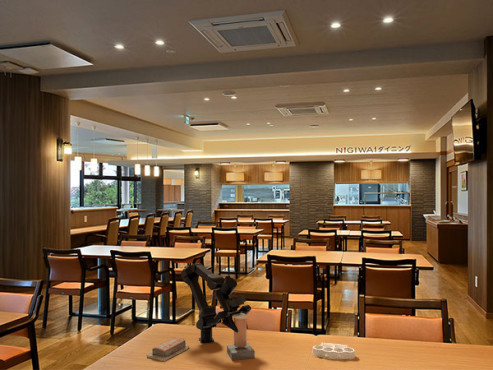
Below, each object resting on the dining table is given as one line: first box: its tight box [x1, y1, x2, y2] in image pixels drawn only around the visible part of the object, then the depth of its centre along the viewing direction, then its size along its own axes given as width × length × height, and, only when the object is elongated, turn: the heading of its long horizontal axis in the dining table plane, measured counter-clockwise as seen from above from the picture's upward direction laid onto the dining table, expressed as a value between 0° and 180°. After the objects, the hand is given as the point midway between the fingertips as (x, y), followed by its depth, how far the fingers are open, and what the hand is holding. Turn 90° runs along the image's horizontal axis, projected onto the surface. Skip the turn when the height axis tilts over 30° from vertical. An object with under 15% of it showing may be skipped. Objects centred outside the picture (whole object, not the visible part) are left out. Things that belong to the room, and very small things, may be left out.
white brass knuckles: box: [312, 342, 356, 360], centre depth 191 cm, size 3×18×15 cm
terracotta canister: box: [233, 313, 248, 347], centre depth 191 cm, size 6×6×13 cm
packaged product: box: [146, 337, 190, 362], centre depth 194 cm, size 18×5×10 cm
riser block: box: [226, 342, 256, 361], centre depth 191 cm, size 10×10×3 cm
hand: (242, 330), depth 190 cm, fingers closed on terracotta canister, 5 cm apart
